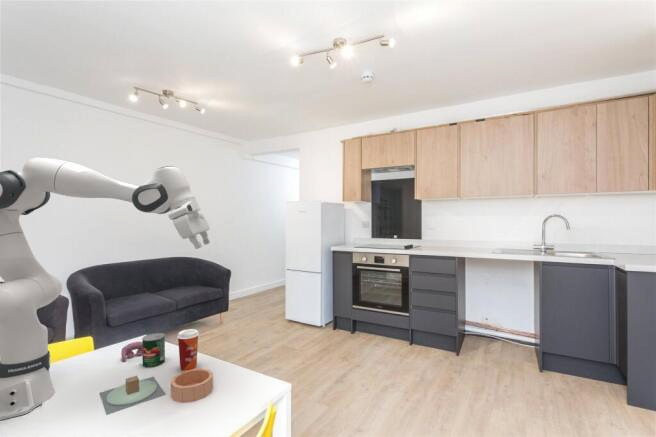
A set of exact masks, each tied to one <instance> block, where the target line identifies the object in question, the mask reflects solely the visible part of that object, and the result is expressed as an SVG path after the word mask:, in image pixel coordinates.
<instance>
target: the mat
mask: <svg viewBox="0 0 656 437" xmlns="http://www.w3.org/2000/svg"><path fill="white" fill-rule="evenodd" d="M142 380H148V381H153V382H155V383H156V384H157V390H156V391H155V393H154V394H153V395H151V396H150V397H149V398H147V399H145V400H143V401H140V402H138V403H135V404H131V405H126V406H112V405H109V404H108V403H107V401H106V398H107V395H108V394H109V393H110V392H111V391H112V390H114V389H115V388H116V387H114V388H111V389H107V390H104V391H101V392H99V396H100V399H101V403H102V405H103V409H104V412H105V415H106V416H108V415H111V414H114V413H117V412H119V411H123V410H125V409H128V408H131V407H134V406H137V405H140V404H142V403H146V402H148V401H152V400H155V399H157V398H160V397H163V396H165V395H167V394H166V393H165V392H166V391H164V389H163V388H162V387H161V386H160V383H159V382H158V381H157V379H156V378H155V377H154V376H150V377H147V378H143V379H141V380H140V379H139V381H142Z"/></svg>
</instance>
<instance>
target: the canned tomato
mask: <svg viewBox="0 0 656 437" xmlns="http://www.w3.org/2000/svg"><path fill="white" fill-rule="evenodd" d="M141 339H142V341H141V342H142V355H141V356H142V361H141V362H142V367H143V368H148V369H149V368H155V367H156V368H157V367H159V366H162V365H163V364H165V362H166V348H165V347H166V335H165V333H163V332H156V333H155V332H154V333H149V334H146V335H145V336H143V337H142V338H141Z"/></svg>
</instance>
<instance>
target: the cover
mask: <svg viewBox="0 0 656 437" xmlns="http://www.w3.org/2000/svg"><path fill="white" fill-rule="evenodd" d="M141 380H142V381H140V378H139V377H138V375H133V376H130V377H127V378H125V383H124V384H122V385H120V386H117V387H114V388H115V389H114V388H113V389H114V390H112V391H111V392H110V393H109V394H108V395H107V398H106V401H107V403H108V404H109V405H112V406H126V405H131V404H135V403H138V402H140V401H143V400H145V399H147V398H149V397H150V396H151V395H153V394H154V393H155V391H156V390H157V384H156V383H155V382H153V381H148V380H143V379H141Z"/></svg>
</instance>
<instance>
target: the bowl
mask: <svg viewBox="0 0 656 437" xmlns="http://www.w3.org/2000/svg"><path fill="white" fill-rule="evenodd" d="M213 388H214V373H213V372H212V371H211V370H210V369H207V368H194V369H192V370H188V371H183V372H179V373H178V374H177V375H175V376H173V377H172V380H171V381H170V397H171V399H172V400H173V402H176V403H177V402H178V403H182V404H184V403H192V402H193V403H194V402H196V401H199V400H201V399H205V398H206V397H207V396H208V395H210V394H211V393H212V391H213Z"/></svg>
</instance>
